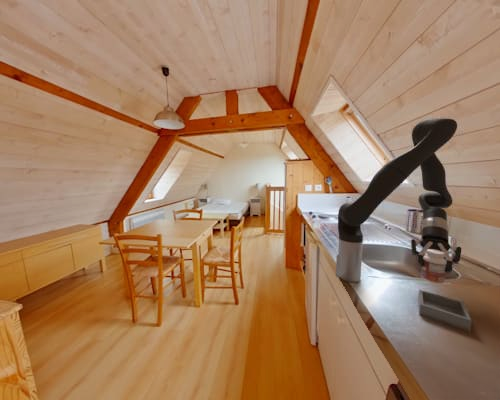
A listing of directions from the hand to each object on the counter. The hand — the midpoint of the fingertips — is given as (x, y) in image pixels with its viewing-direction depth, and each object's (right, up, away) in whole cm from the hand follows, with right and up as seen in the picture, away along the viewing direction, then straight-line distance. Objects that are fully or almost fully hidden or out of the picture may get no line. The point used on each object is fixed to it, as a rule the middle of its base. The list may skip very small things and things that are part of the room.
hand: (434, 268), depth 67 cm
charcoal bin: (-5, -12, -7) cm, 15 cm away
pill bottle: (+1, -5, +2) cm, 5 cm away
